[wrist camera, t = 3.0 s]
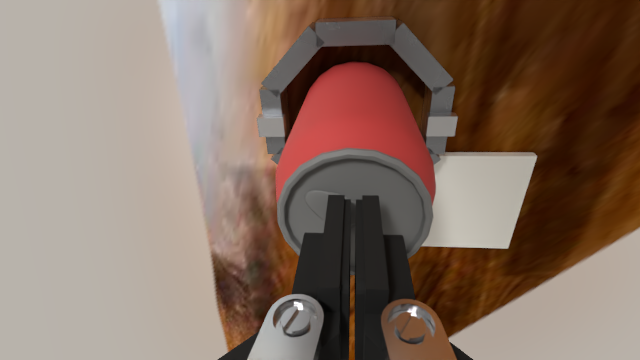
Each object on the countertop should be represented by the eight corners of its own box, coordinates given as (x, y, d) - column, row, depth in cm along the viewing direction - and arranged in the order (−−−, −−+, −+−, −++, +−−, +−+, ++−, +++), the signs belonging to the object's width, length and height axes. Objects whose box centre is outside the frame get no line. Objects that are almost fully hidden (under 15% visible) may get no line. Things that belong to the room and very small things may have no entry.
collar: (257, 21, 20) (243, 26, 17) (458, 13, 19) (474, 18, 16) (277, 182, 26) (269, 204, 23) (433, 184, 24) (442, 207, 22)
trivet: (411, 152, 23) (412, 155, 23) (533, 152, 22) (537, 156, 22) (402, 240, 27) (403, 245, 27) (504, 243, 27) (507, 248, 26)
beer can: (337, 37, 20) (318, 96, 10) (426, 93, 21) (492, 198, 11) (288, 126, 23) (234, 240, 13) (368, 170, 24) (377, 308, 14)
